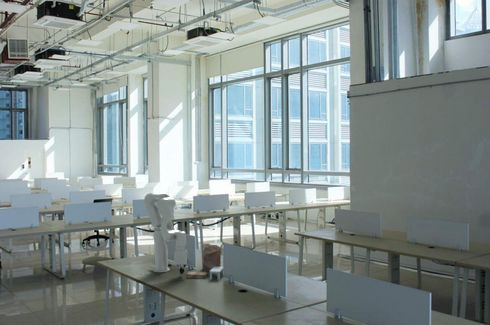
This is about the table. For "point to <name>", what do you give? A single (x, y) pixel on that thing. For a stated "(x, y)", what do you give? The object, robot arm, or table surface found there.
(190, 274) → the panel
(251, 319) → the table surface
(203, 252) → the stone
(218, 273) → the bridge
